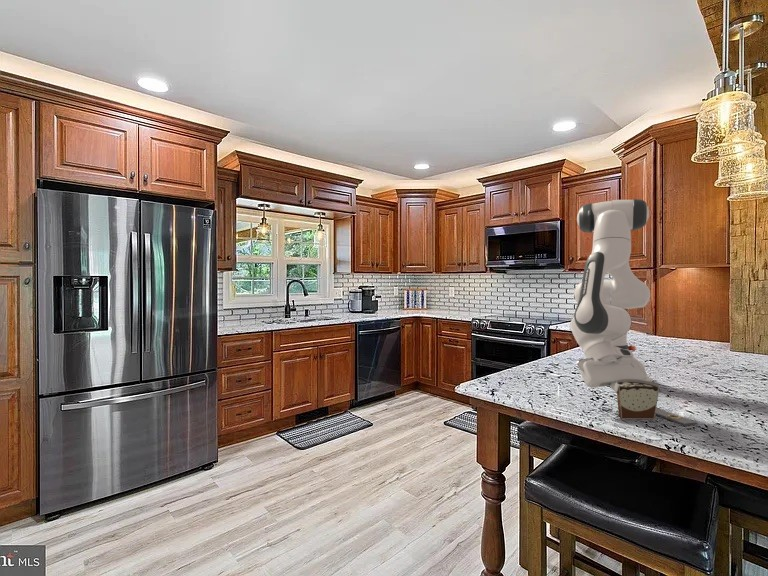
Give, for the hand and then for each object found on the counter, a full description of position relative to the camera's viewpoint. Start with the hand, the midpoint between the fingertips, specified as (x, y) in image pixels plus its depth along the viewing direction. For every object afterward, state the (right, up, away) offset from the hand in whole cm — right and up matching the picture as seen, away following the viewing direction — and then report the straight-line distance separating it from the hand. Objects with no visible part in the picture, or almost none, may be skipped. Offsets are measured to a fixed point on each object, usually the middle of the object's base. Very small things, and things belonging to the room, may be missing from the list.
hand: (627, 397), depth 119 cm
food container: (+1, -5, -1) cm, 5 cm away
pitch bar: (+10, -5, +1) cm, 11 cm away
